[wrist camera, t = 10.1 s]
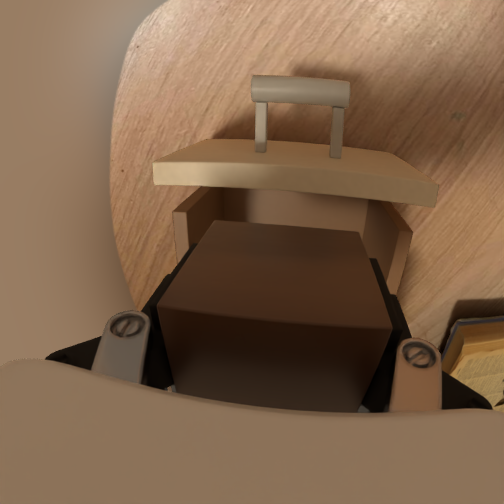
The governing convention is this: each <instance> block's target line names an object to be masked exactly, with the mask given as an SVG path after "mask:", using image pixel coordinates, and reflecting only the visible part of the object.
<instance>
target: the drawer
mask: <svg viewBox="0 0 504 504" xmlns="http://www.w3.org/2000/svg"><path fill="white" fill-rule="evenodd" d="M251 98H252V101H253V102H256V112H255V140H245V139H205V140H203V141H200V142H198V143H195V144H193V145H191V146H188V147H186V148H183V149H181V150H179V151H176V152H174V153H172V154H169V155H167V156H165V157H163V158H160V159H158V160H156V161H154V162H152V168H153V181H154V185H175V186H201V187H200V188H199V189H197V190H196V191H195V192H194V193H193V194H192V195H190V196H189V197H188V198H187V199H186V200H185V201H184V202H182V203H181V204H180V205H179V206H178V207H177V208H176V209H175V210H174V211H173V212H172V214H173V226H174V236H175V247H176V256H177V265H178V263H179V262H180V260H181V259H182V258H183V256H184V255H185V253H186V252H187V251H188V249H189V248H190V246H191V245H192V244H193V243H199V242H200V240H201V239H202V237H203V236H204V235H205V233H206V232H207V230H208V229H209V228H210V226H211V225H212V223H213V222H214V221H215V220H220V221H235V222H249V223H263V224H276V225H288V226H301V227H312V228H324V229H335V230H345V231H356V232H359V234H360V236H361V239H362V241H363V244H364V247H365V249H366V252H367V254H368V257H369V258H376V259H377V261H378V263H379V266H380V268H381V271H382V273H383V276H384V278H385V281H386V284H387V286H388V289H389V292H390V294H395V295H396V294H397V291H398V288H399V284H400V281H401V277H402V274H403V270H404V266H405V263H406V259H407V255H408V251H409V247H410V243H411V239H412V234H413V231H412V230H411V228H410V227H409V226H408V224H407V223H406V222H405V220H404V219H403V218H402V217H401V215H400V214H399V213H398V211H397V210H396V209H395V208H394V206H393V205H392V204H391V202H397V203H404V204H411V205H418V206H425V207H432V208H435V205H436V200H437V195H438V189H439V184H438V183H436V182H435V181H433V180H432V179H431V178H429V177H428V176H426V175H425V174H423V173H422V172H420V171H419V170H417V169H416V168H414V167H412V166H411V165H409V164H408V163H406V162H405V161H403V160H401V159H400V158H398V157H397V156H395V155H393V154H392V153H388V152H382V151H375V150H368V149H360V148H352V147H344V146H342V140H343V126H344V108H348V106H349V102H350V83H349V82H348V81H341V80H332V79H322V78H310V77H296V76H273V75H253V76H252V79H251ZM267 102H274V103H294V104H308V105H320V106H330V107H332V121H331V137H330V145H325V144H314V143H302V142H288V141H270V140H267V128H268V103H267Z"/></svg>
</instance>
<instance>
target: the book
mask: <svg viewBox="0 0 504 504" xmlns="http://www.w3.org/2000/svg"><path fill="white" fill-rule="evenodd" d="M441 367H442V370H443V371H444V372H446V373H448V374H449V375H451V376H452V377H454V378H455V379H457V380H459V381H460V382H462V383H463V384H465V385H466V386H468V387H469V388H471V389H473V390H474V391H476V392H477V393H479V394H480V395H482V396H484V397H485V398H486V399H487V400H488V401H489V402H490V404H491V405H492V408H493V410H496V411H500V412H504V316H498V317H488V318H487V317H486V318H467V319H458V320H456V322H455V323H454V325H453V327H452V328H451V334H450V336H449V338H448V340H447V343H446V346H445V349H444V351H443V353H442V356H441Z"/></svg>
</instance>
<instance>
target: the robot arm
mask: <svg viewBox="0 0 504 504" xmlns="http://www.w3.org/2000/svg"><path fill="white" fill-rule="evenodd" d="M197 245H198V243H193V244H192V245H191V246H190V248H189V249H188V251H187V252H186V253H185V255H184V256H183V258H182V259H181V260H180V262H179V263H178V265H177V266H176V267H175V269H174V270H173V272H172V273H171V274H168V275H167V276H166V277H165V278H164V279H163V281H162V282H161V284H160V285H159V286H158V288H157V289H156V291H155V292H154V293H153V295H152V296H151V298H150V299H149V301H148V302H147V303H146V305H145V306H144V308H143V309H142V311H141V312H140V311H134V310H130V311H123V312H120V313H118V314H116V315H114V316H112V317H111V318H110V320H108V322H107V324H106V326H105V329H104V332H103V334H102V336H100V337H97V338H94V339H92V340H89V341H86V342H83V343H80V344H77V345H74V346H71V347H68V348H65V349H62V350H58V351H56V352H54V353H52V354H50V355H49V356H48V357H46V359H45V360H43V359H18V360H13V361H10V362H7V363H5V364H3V365H2V366H1V367H0V504H504V412H500V411H496V410H493V408H492V405H491V404H490V402H489V401H488V400H487V399H486V398H485V397H484V396H482V395H480V394H479V393H477V392H476V391H474V390H473V389H471V388H469V387H468V386H466V385H465V384H463V383H462V382H460V381H459V380H457V379H455V378H454V377H452V376H451V375H449V374H448V373H446V372H444V371H443V370H442V367H441V356H440V353H439V351H438V349H437V348H436V347H435V346H434V345H433V344H431V343H430V342H428V341H426V340H423V339H420V338H412V337H411V334H410V331H409V328H408V325H407V322H406V320H405V317H404V314H403V312H402V309H401V306H400V304H399V301H398V299H397V297H396V295H395V294H390V292H389V289H388V286H387V284H386V281H385V278H384V276H383V273H382V271H381V268H380V266H379V263H378V261H377V259H376V258H369V260H370V263H371V265H372V268H373V271H374V273H375V276H376V279H377V282H378V285H379V288H380V291H381V294H382V297H383V300H384V303H385V306H386V309H387V312H388V315H389V318H390V321H391V324H392V331H391V334H390V337H389V339H388V342H387V345H386V347H385V350H384V352H383V355H382V357H381V360H380V362H379V365H378V367H377V369H376V372H375V374H374V376H373V379H372V381H371V383H370V385H369V388H368V390H367V392H366V394H365V396H364V399H363V401H362V403H361V405H360V406H364V407H365V408H366V409H368V412H367V413H339V412H316V411H300V410H288V409H277V408H267V407H259V406H251V405H243V404H236V403H229V402H223V401H217V400H211V399H205V398H200V397H194V396H189V395H184V394H179V393H175V392H170V391H168V390H167V387H169V386H172V385H174V381H173V377H172V373H171V369H170V365H169V361H168V357H167V352H166V348H165V344H164V339H163V334H162V330H161V325H160V320H159V315H158V310H157V304H158V302H159V301H160V299H161V298H162V296H163V295H164V293H165V292H166V290H167V289H168V287H169V286H170V284H171V283H172V281H173V280H174V278H175V277H176V275H177V274H178V272H179V271H180V269H181V268H182V266H183V265H184V264H185V262H186V261H187V259H188V258H189V256H190V255H191V253H192V252H193V250H194V249H195V248H196V246H197ZM174 386H175V385H174Z"/></svg>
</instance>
